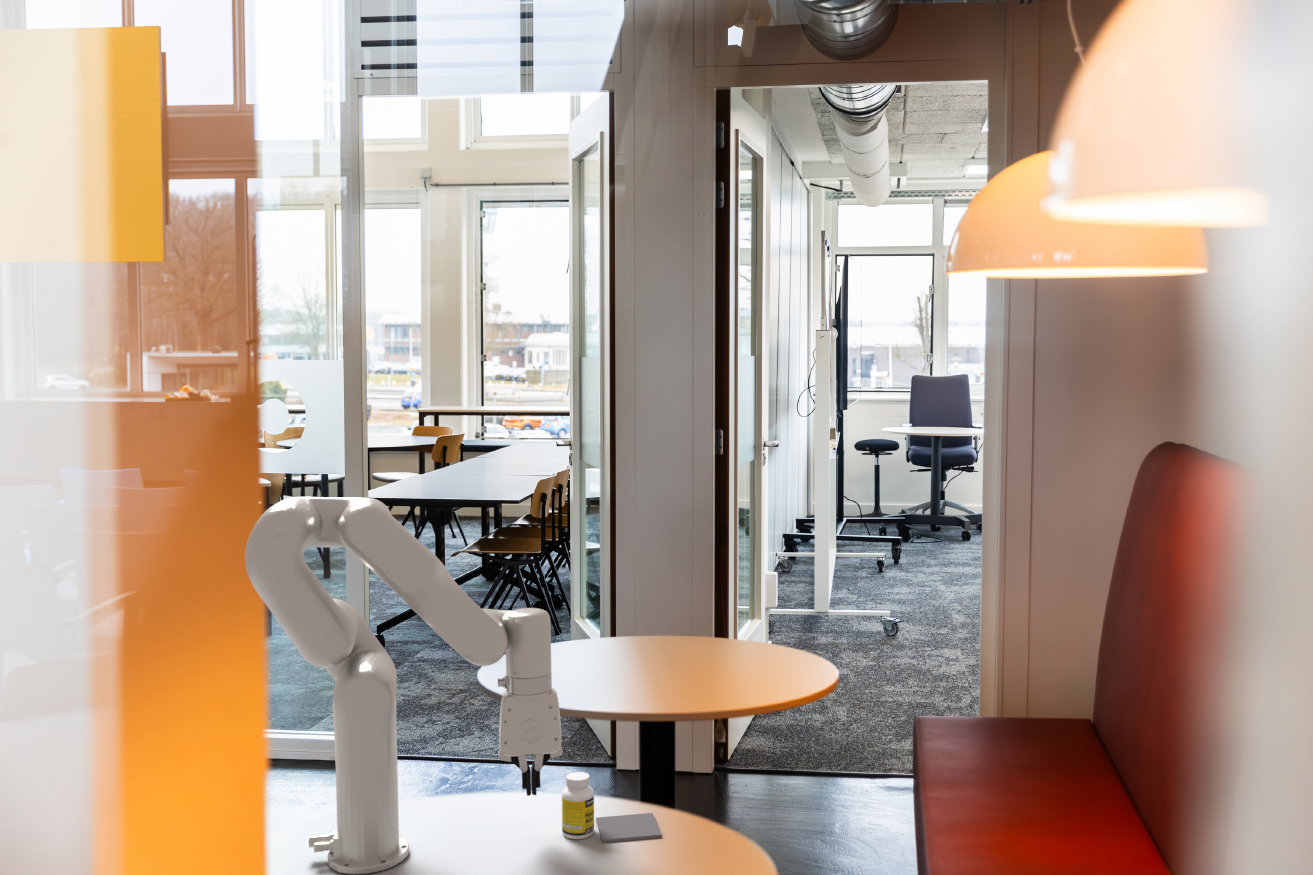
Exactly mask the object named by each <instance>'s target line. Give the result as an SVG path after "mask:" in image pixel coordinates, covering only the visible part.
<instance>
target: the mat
mask: <svg viewBox="0 0 1313 875" xmlns="http://www.w3.org/2000/svg"><path fill="white" fill-rule="evenodd" d="M595 822H596V827H597V829H598V833H599V837H600V841H601V844H605V843H616V842H628V841H638V840H649V839H658V838H660V839H661V838H662V835H663V834H662V833H661V830H660V827H659V826H658V823H657V820H656V818H655V815H654V813H653V812H647V813H634V814H623V815H611V816H599V817H596V818H595Z"/></svg>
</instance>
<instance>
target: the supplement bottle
mask: <svg viewBox="0 0 1313 875" xmlns="http://www.w3.org/2000/svg"><path fill="white" fill-rule="evenodd" d="M590 778H591V776H590V774H589V773H587V772H584V771H575V772H570V773H568V774H567V775H566V777H565V785H566V786H565V787H564V789H563V790H562V793H561V829H562V833H561V834H562V835H563V836H564V837H565V838H567V839H569V840H570V839H571V840H583V839H587V838H589V837H591V836H592V835H593V834H594V832H595V793H594V789H593V787H591V786H590V783H591V779H590Z"/></svg>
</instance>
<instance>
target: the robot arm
mask: <svg viewBox="0 0 1313 875" xmlns="http://www.w3.org/2000/svg"><path fill="white" fill-rule="evenodd" d="M308 548H346V550H348V551H349V552H350V553H351V554H352V555H353V556H354V557H356V559H358V560H359V561H360V562H361V563H362V564H363V565H365V566H366V567H367V568H368V569H369V570H370V571H372V573H374V574H375V576H376V577H378V578H379V579H380V580H381V581H382V582H384V583H385V585H386V586H387V587H389V588H390V589H391V590H392V591H393V592H394V593H395V594H396V595H398V597H399V598H400V599H402V601H403V602H404V603H405V604H406V605H407V606H408V607H409V608H410V609H411V610H412V611H413V612H414V613H415V614H417V616H419V617H420V618H421V619H422V620H423V621H424V622H425V623H426V624H427V625H428V626H429V627H430V628H431V629H432V631H434V632H435V633H436V634H437V635H438V637H440V638H441V639H442V640H443V641H444V642H445V643H447V644H448V646H449V647H451V648H452V649H453V650H454V651H455V652H456V653H457V654H459V656H461V657H462V658H463V659H464V660H466V661H467V662H469V663H470V664H472V665H475V666H478V667H488V666H492V665H493V664H494V665H495V663H498V662H499V661H500V660H501V659H502V658H503V657H504V655H505V668H506V670H505V674H506V675H504V676H503V677H502V678H497V687H499V688H500V687H501V688H504V689H505V690H504V691H503V692H502V695H501V701H500V709H499V728H498V729H499V730H498V732H499V734H498V738H499V739H498V740H499V742H498V743H499V750H498V755H497V756H498V760H499V761H502V762H503V761H504V762H508V763H509V762H510V763H513V764H514V765H515V767H517V768H518V769H519V770H520V771H521V785H522V786H521V788H522V790H526V796H527V797H529V796H531V795H533V796H537V789H541V770H542V768H543V767H544V765H545V764H546V763H547V762H548V761H549V760H550V759H555V758H558V757H560V756H562V755H563V753H564V752H563V751H564V750H563V748H562V726H561V725H562V723H561V714H560V713H561V712H560V703H559V698H558V693H557V691H556V689H555V688H553V687H552V686H553V685H552V684H553V683H552V682H553V681H552V680H553V679H552V639H551V638H552V635H551V633H552V632H551V631H552V630H551V616H550V614H549V612H548V611H546V610H544V609H541V608H537V607H526V608H525V607H522V608H517V609H514V610H507V609H506V610H505V609H492V608H481V607H480V606H479V605H478V604H477V603H476V602H475V601H474V600H473V599H472V598H471V597H470V596H469V595H468V594H467V593H466V592H465V591H464V590H463V589H462V588H461V587H460V585H459V584H458V583H457V582H456V581H455V580H454V578H453V577H452V575H451V573H450V572H449V571H448V569H447V567H446V566H445V565H444V563H443V562H442V561H441V560H440V558H438V556H437V555H436V554H434V553H433V552H432V551H431V550H430V549H429V548H428V547H426V545H424V544H423V543H422V542H421V541H420V540H418V538H416V537H415V536H414V535H413V534H412V533H411V531H409V530H408V529H407V528H406V527H405V526H403V524H401V522H399V520H397V519H396V518H395V517H394V516H393V515H392V513H391V511H390V509H389V508H388V506H387V505H386V504H385V503H384V502H382V501H381V500H378V499H376V498H373V497H331V496H330V497H328V496H327V497H324V496H321V497H320V496H319V497H317V496H294V497H293V496H292V497H289V498H288V497H287V498H285V499H282V500H279V502H276V503H274V504H273V505H271V506H270V507H269V508H267V509H266V510H265V511H264V512H263V513H262V514H261V515H260V516H259V518H258V520H257V521H256V523H255V524H254V526H253V528H252V530H251V531H250V534H249V536H248V539H247V542H246V545H245V552H244V564H245V569H246V573H247V575H248V578H249V581H250V583H251V585H252V587H253V588H254V590H255V592H256V593H257V595H258V596H259V597H260V599H261V600H262V601H263V603H264V604H265V605H266V607H267V608H268V610H269V611H270V613H271V614H272V616H273V617H274V619H275V620H276V622H277V623H278V624H279V626H280V628H281V629H282V630H283V631H284V632H285V634H286V636H287V637H288V639H290V641H291V643H292V644H293V645H294V646H295V648H296V650H297V652H298V653H299V654H300V656H301V657H302V658H303V659H304V661H306V662H307V663H309V664H310V665H312V666H313V667H316V668H322V669H326V671H327V672H328V674H329V675H330V676H331V678H332V679H333V680H334V682H335V684H334V688H333V693H332V719H333V732H334V756H335V757H334V760H335V788H336V789H335V790H336V791H335V792H336V793H335V795H336V797H335V798H336V829H335V830H331V831H330V833H317V834H309V837H308V847H309V848H310V849H311V848H313V851H314V853H318V852H319V853H320V852H325V851H328V853H327V865H328V867H329V868H331V870H333V871H335V872H337V873H342V874H347V875H367V874H368V875H369V874H373V873H377V872H382V871H385V870H387V869H390V868H393V867H395V866H397V865H399V864H401V862H403V861H404V860H405V859H406V858H407V856H408V855H409V853H410V844H409V841H408V840H407V839H406V838H404V837H402V836H400V830H399V829H400V828H399V827H400V826H399V783H398V782H399V780H398V776H399V774H398V744H397V743H398V740H397V739H398V736H397V734H398V733H397V679H398V675H397V668H396V666H395V662H394V661H393V660H392V658H391V656H390V655H389V653H388V651H387V650H386V649H385V647H384V646H383V644H381V642H380V641H379V640H378V638H377V637H376V635H375V634H374V633H373V631H372V629H371V628H370V627H369V626H368V625H367V623H366V622H365V620H364V619H363V617H362V616H361V615H360V613H358V610H356V609H355V607H354V606H352V605H351V604H350V603H348V602H347V601H345V600H342V599H340V598H334V597H332V596H331V595H330V594H329V592H328V591H327V589H326V588H325V586H324V585H323V583H322V582H321V580H320V579H319V577H318V576H317V575H316V574H315V573H314V572H313V570H312V569H311V568H310V567H309V566H308V563H307V562H306V559H305V553H306V550H307V549H308ZM527 756H534V758H533V762H532V764H531V767H530V764H529V763H528V760H527Z"/></svg>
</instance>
